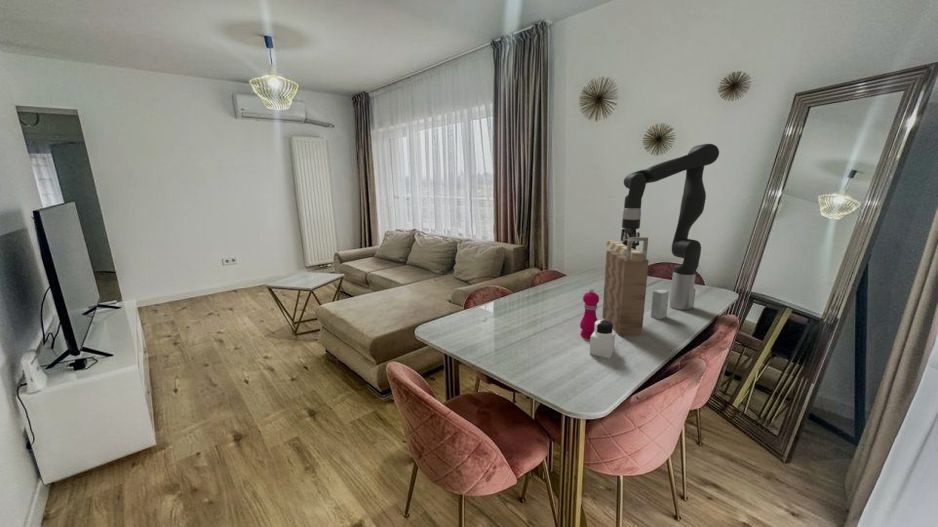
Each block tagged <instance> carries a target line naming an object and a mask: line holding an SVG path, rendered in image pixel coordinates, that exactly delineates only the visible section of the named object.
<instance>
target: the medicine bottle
mask: <svg viewBox="0 0 938 527" xmlns="http://www.w3.org/2000/svg"><path fill="white" fill-rule="evenodd" d="M597 320H598V321H596V322H595V328H594V332H593V334H592V335H591V338H590V339H589V341H590V342H589V355H592V356H595V357H600V358H605V359H611V358H612V355H613V354H614V351H615V343H616V342H615V341H616V332H613V324H612V323H611V322H609V321H607V320H604V319H597Z"/></svg>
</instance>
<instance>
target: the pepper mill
mask: <svg viewBox="0 0 938 527" xmlns="http://www.w3.org/2000/svg"><path fill="white" fill-rule="evenodd" d="M582 301H583V303H584V304H583V305H584V306H583V308H584V314H583V316H582V318H581V320H580V323H579V327H580V329H581V330H580V336H581V338H583V339H585V338H586V340H590V338H591V335H592V334H593V332H594V328H595V322H596V321H598V320H599V319H598V317H597V310H598V304H599V303H600V296H599V295H598V293H596V292H595V290H594V289H593V288H589V290H588V291H587V292H585V293H584V294H583V297H582Z"/></svg>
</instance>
